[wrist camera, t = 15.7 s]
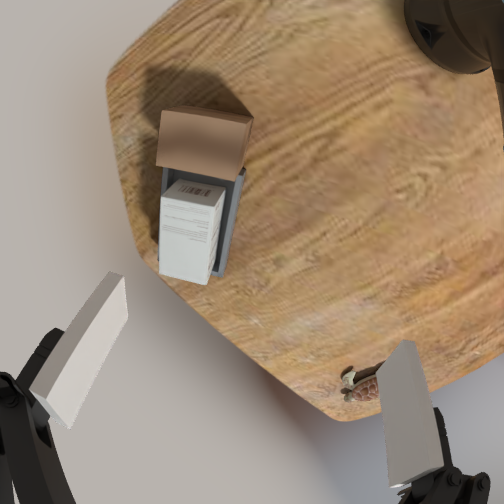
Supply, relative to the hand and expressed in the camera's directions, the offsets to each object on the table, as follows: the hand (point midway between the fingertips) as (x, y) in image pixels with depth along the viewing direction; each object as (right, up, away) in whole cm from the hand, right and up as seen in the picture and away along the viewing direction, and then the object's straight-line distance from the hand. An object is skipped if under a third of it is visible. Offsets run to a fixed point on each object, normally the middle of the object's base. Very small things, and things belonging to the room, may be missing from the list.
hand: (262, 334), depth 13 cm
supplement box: (-8, +12, +25) cm, 29 cm away
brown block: (-6, +20, +25) cm, 32 cm away
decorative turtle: (+29, -28, +51) cm, 65 cm away
